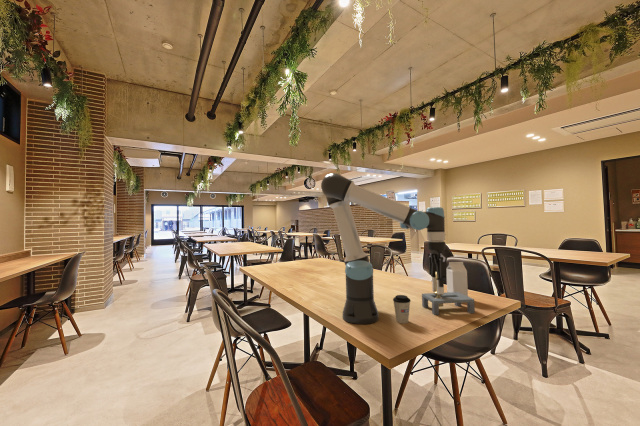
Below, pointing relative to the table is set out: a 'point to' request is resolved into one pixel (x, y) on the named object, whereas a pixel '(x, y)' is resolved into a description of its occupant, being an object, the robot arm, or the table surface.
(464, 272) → the milk carton
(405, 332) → the table surface
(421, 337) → the table surface
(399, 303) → the coffee cup
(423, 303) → the keyhole plate
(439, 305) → the brass t bolt
